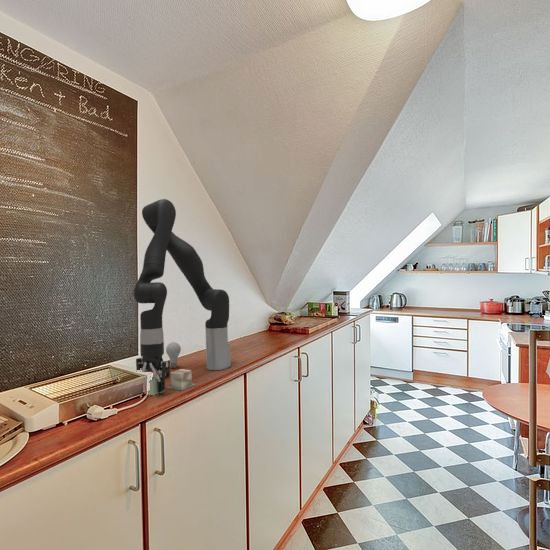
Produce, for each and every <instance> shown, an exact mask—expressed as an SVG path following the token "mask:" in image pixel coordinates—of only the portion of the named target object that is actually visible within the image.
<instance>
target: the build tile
mask: <svg viewBox="0 0 550 550" xmlns="http://www.w3.org/2000/svg"><path fill="white" fill-rule="evenodd" d="M192 386H193V387H195V386H197V383H193V382H192V385H189V386H187V387H184V388H182V389H181V388H176V387H171V385H168V386H167V387H166V389H167V390H173V389H175V390H174V391H179V390H181V391H180V392H183V390H184V391H186V390H188V389H191V388H193V387H192ZM190 387H191V388H190ZM187 388H188V389H187ZM185 389H186V390H185Z"/></svg>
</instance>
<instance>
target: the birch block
mask: <svg viewBox="0 0 550 550" xmlns="http://www.w3.org/2000/svg"><path fill="white" fill-rule="evenodd" d="M192 383H193V381H192V370H191V369H183V368H180V369H177V370H175V371H174V370H173V371H170V386H171V387H176V388H181V389H182V388H184V387H187V386H189V385H192Z"/></svg>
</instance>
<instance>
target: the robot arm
mask: <svg viewBox="0 0 550 550" xmlns="http://www.w3.org/2000/svg"><path fill="white" fill-rule="evenodd" d="M141 214H142V215H141V216H142V218H143V221H144V222H145V224H146V226H147V227H148V228H149V229H150V231H151V232H152V233H153V236H152V238H151V240H150V241H149V244H148V245H147V248H146V249H145V253H144V258H143V266H142V271H141V273H140V276H139V278H138V279H137V282H136V284H135V286H134V289H133V297H134V300H135V301H136V303H138V304H154V305H153V307H152V308H151V309H149V310H148V309H147V310H144V311H142V312H141V313H140V314H139V315H140V319H139V320H140V334H139V343H140V349H139V350H140V351H139V352H140V356H141V357H138V358H136V359H135V364H136V365H135V366H136V371H137V370H140V371H141V370H142V372H150V373H153V376H156V377H157V379H158V392H160V394H162V393H164V392H163V391H164V390H165V389H166V386H165V385H166V384H165V383H166V380H168V379H171V362H170V360H164V359H163V356H164V354H165V345H164V344H165V342H164V341H165V340H164V339H165V338H164V330H163V329H164V328H163V313H164V308H165V304H166V300H167V296H168V287H167V286H166V285H165V284H164V283H163V282H158V281H157V282H152V281H154V280H157V279H160V278H163V276H164V273H165V267H166V266H165V264H166V263H165V262H166V256H167V252H168V253H169V255H170V256H171V258H172V259H173V261H174V263H175V264H176V266H177V267H178V269H179V270H180V272H181V273H182V274H183V276H184V278H185V279H186V280H187V282H188V283H189V285H190V287H192V289H193V292H194V293H195V295H196V296H197V299H198V301H199V303H200V304H201V306H202V307H203V308H204V309H205V310H206V311H210V318H208V319H206V320H205V323H204V324H205V325H204V326H205V354H206V356H205V358H206V369H207V370H210V371H221V370H226V369H228V368H230V366H231V345H230V344H229V339H228V338H229V337H228V336H229V335H228V334H229V333H228V322H229V320H230V297H229V294H228V292H227V291H226V290H224V289H216V288H215V289H214V288H213V287H212V286H211V285H210V283H209V282H208V280H207V279H206V276H205V271H204V270H205V268H204V264H203V263H204V262H203V261H202V258H201V257H200V255H199V254H198V252H197V251H196V249H195V247H194V246H193V245H191V244H190V243H188V242H187V241H185V240H184V239H182V238H180V237H179V236H177V234H175V233H174V232H173V228H174V224H175V221H176V216H177V211H176V208H175V206H174V204H173V202H172V201H170V200H169V199H166V198H162V199H158V200H156V201H154V202H151V203H149V204H146V205H145V206H143V208H142V210H141ZM231 367H232V366H231ZM165 391H166V390H165ZM161 392H162V393H161Z"/></svg>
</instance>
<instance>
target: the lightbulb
mask: <svg viewBox="0 0 550 550" xmlns="http://www.w3.org/2000/svg"><path fill="white" fill-rule="evenodd" d="M181 350H182V348H181V345H180V344H179V343H177V342H175V341H173V342H170V343H168V344H167V345H166V348H165V353H166V355H167V356H168V358H169V361H170V368H172V369H175V368H176V367H178V359H179V355H180V353H181Z"/></svg>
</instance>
